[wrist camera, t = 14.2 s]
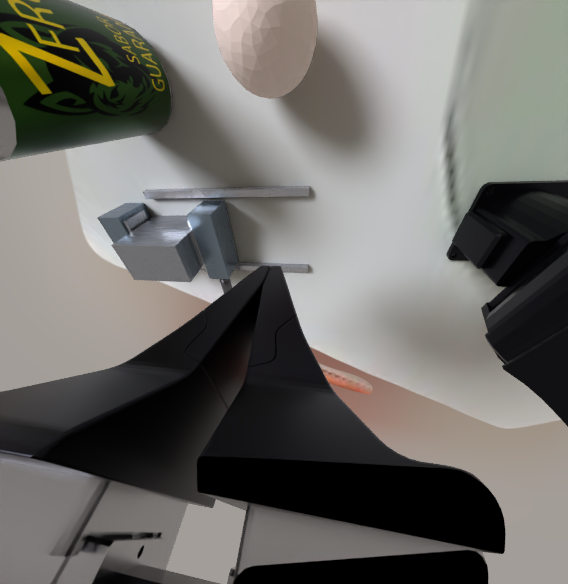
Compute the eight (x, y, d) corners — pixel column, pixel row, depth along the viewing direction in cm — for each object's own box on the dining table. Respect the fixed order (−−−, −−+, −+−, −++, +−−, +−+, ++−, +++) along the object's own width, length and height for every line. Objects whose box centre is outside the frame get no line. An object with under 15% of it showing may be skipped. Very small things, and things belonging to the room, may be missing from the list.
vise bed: (309, 186, 18) (307, 200, 15) (307, 269, 23) (306, 290, 21) (118, 190, 20) (88, 203, 17) (158, 264, 26) (139, 282, 23)
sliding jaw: (224, 200, 19) (210, 214, 17) (244, 283, 26) (235, 303, 23) (200, 200, 19) (183, 215, 17) (225, 283, 26) (215, 301, 23)
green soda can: (155, 149, 17) (-19, 198, 8) (86, 78, 15) (-260, 42, 6) (191, 91, 15) (-11, 73, 6) (113, -8, 12) (-442, -300, 3)
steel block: (155, 215, 21) (111, 245, 17) (206, 215, 21) (174, 246, 16) (169, 246, 24) (134, 279, 19) (216, 247, 23) (190, 282, 18)
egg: (299, 112, 15) (286, 118, 9) (234, 79, 14) (177, 65, 8) (333, 6, 11) (343, -80, 6) (251, -42, 11) (180, -186, 5)
